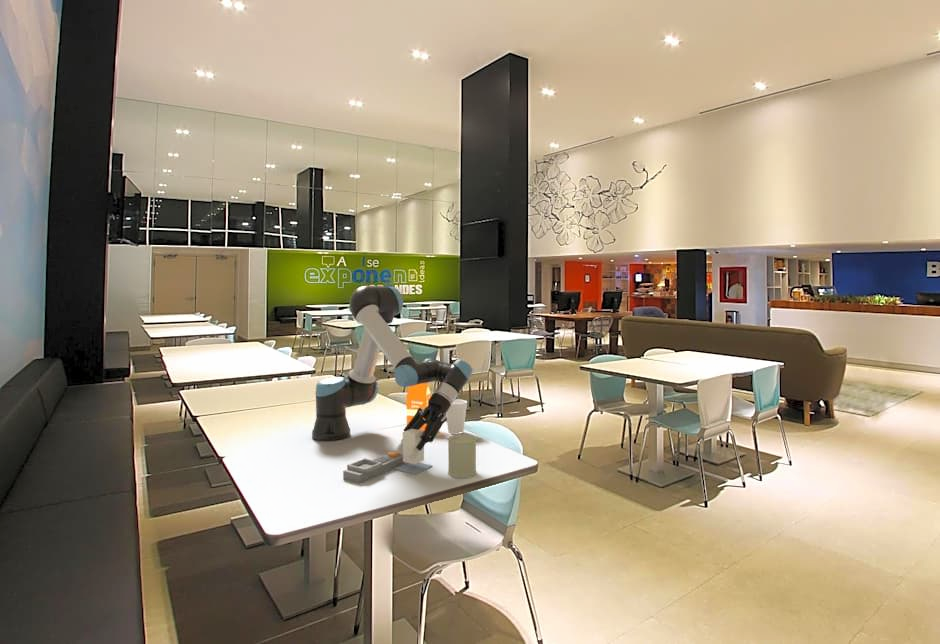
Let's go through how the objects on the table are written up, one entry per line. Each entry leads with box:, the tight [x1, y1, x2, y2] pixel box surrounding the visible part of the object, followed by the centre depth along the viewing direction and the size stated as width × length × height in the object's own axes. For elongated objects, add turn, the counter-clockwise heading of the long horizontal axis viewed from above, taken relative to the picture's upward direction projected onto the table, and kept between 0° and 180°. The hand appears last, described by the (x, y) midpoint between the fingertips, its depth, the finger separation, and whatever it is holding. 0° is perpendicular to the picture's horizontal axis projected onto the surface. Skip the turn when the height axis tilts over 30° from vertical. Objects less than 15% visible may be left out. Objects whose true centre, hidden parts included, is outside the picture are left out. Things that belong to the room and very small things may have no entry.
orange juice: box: [406, 382, 432, 431], centre depth 221 cm, size 8×9×20 cm
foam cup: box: [445, 398, 468, 434], centre depth 213 cm, size 10×9×13 cm
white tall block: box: [402, 429, 425, 464], centre depth 169 cm, size 5×5×10 cm
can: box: [447, 434, 477, 479], centre depth 164 cm, size 9×9×12 cm
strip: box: [342, 449, 406, 484], centre depth 168 cm, size 8×24×4 cm, turn 148°
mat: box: [393, 462, 433, 475], centre depth 169 cm, size 9×9×1 cm
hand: (404, 454), depth 166 cm, fingers closed on white tall block, 6 cm apart
